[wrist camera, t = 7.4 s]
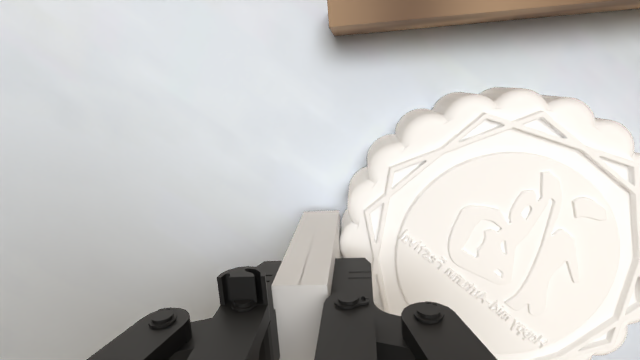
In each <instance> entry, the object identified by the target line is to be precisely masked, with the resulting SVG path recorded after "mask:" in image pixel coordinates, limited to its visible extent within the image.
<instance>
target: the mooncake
mask: <svg viewBox="0 0 640 360" xmlns="http://www.w3.org/2000/svg"><path fill="white" fill-rule="evenodd" d="M339 245H340V251H341V253H342V256H343V257H344V258H366V259H367V260H368V261H369V262H370V263H371V271H372V288H373V301H374V304H375V305H376V306H377V308H379V309H380V310H382V311H384V312H386V313H389V314H393V315H398V316H401V313H402V311H403V309H404V308H405V307H407V306H409V305H410V304H414V303H418V302H426V301H428V302H436V303H439V304H442V305H445V306H447V307H449V308H450V309H452V310H453V311H454V312H455V313H456V314H457V315H458V316H459V317H460V318H461V319H462V321H463V322H464V323H465V324H466V325H467V326H468V327H469V328H470V330H471V331H472V332H473V333H474V334H475V335H476V336H477V337H478V338H479V340H480V341H481V342H482V343H483V344H484V345H485V346H486V347H487V349H488V350H489V351H490V352H491V353H492V354H493V355H494V356H495V358H496V359H497V360H591V357H592V355H606V354H609V353H611V352H613V351H615V350H617V349H618V348H619V347H620V346H621V345H622V344H623V343H624V341H625V339H626V336H627V325H628V324H633V323H636V322H639V321H640V154H639V153H635V152H634V140H633V137H632V135H631V133H630V132H629V130H628V129H627V128H626V127H625V126H623V125H622V124H620V123H618V122H616V121H612V120H607V119H600V118H595V117H594V114H593V112H592V110H591V109H590V108H589V107H588V105H586V104H585V103H584V102H582V101H580V100H578V99H575V98H570V97H558V96H546V95H539V94H538V93H536V92H534V91H532V90H529V89H523V88H505V87H494V88H490V89H487V90H485V91H483V92H482V93H480V94H471V93H463V92H454V93H450V94H447V95H445V96H443V97H442V98H441V99H439V100H438V101H437V103H436V104H435V105H434V107H433V109H432V110H429V109H415V110H412V111H410V112H408V113H406V114H405V115H404V116H403V117H402V118H401V119H400V120H399V122H398V124H397V126H396V130H395V134H388V135H384V136H382V137H380V138H378V139H377V140H376V141H375V142H374V143H373V144H372V145H371V147H370V149H369V151H368V154H367V167H364V168H362V169H360V170H359V171H357V172H356V173H355V174H354V176H353V177H352V179H351V181H350V184H349V192H348V203H347V209H346V210H345V212H344V214H343V217H342V223H341V231H340V240H339Z"/></svg>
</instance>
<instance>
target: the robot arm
mask: <svg viewBox="0 0 640 360" xmlns="http://www.w3.org/2000/svg"><path fill="white" fill-rule="evenodd" d="M339 240H340V215H339V210H332V211H308V212H303V214H302V217H301V219H300V221H299V224H298V226H297V228H296V230H295V233H294V235H293V237H292V240H291V242H290V244H289V247H288V249H287V251H286V253H285V256H284V258H283V260H282V261H266V262H263V263H261V264H260V265H259V266H257V267H249V266H246V267H238V268H234V269H230V270H228V271H225V272H223V273H221V274H220V275H219V276H218V277H217V282H218V290H219V297H220V304H221V306H220V307H219V309H218V310H217V312H216V314H215V315H214V317H213V318H210V319H206V320H200V321H195V322H190V316H189V313H188V312H187V311H186V310H184V309H181V308H166V309H165V308H164V309H160V310H158V311H156V312H153V313H150V314H149V315H147V316H145V317H144V318H142V319H141V320H139V321H138V322H137V323H135V324H134V325H133V326H131V327H130V328H129V329H127V330H126V331H125V332H123V333H122V334H121V335H119V336H118V337H117V338H115V339H114V340H113V341H111V342H110V343H108V344H107V345H106V346H104V347H103V348H102V349H100V350H99V351H98V352H96V353H95V354H94V355H92V356H91V357H90V358H88V359H87V360H497V359H496V358H495V356H494V355H493V354H492V353H491V352H490V351H489V350H488V349H487V347H486V346H485V345H484V344H483V343H482V342H481V341H480V340H479V338H478V337H477V336H476V335H475V334H474V333H473V332H472V331H471V330H470V328H469V327H468V326H467V325H466V324H465V323H464V322H463V321H462V319H461V318H460V317H459V316H458V315H457V314H456V313H455V312H454V311H453V310H452V309H450V308H449V307H447V306H445V305H442V304H439V303H436V302H428V301H426V302H418V303H414V304H410V305H409V306H407V307H405V308H404V309H403V311H402V313H401V316H398V315H393V314H389V313H386V312H384V311H382V310H380V309H379V308H377V306H376V305H375V304H374V301H373V288H372V271H371V263H370V262H369V261H368V260H367V259H366V258H342V253H341V251H340V245H339Z"/></svg>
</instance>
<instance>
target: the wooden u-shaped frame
mask: <svg viewBox="0 0 640 360" xmlns="http://www.w3.org/2000/svg"><path fill="white" fill-rule="evenodd" d="M327 3H328V18H329V28H330V29H331V31H332V33H333V35H334V36H342V35H353V34H363V33H374V32H385V31H396V30H407V29H418V28H429V27H440V26H451V25H462V24H473V23H484V22H495V21H506V20H517V19H528V18H539V17H550V16H561V15H572V14H583V13H594V12H605V11H616V10H627V9H638V8H640V0H327Z"/></svg>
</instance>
